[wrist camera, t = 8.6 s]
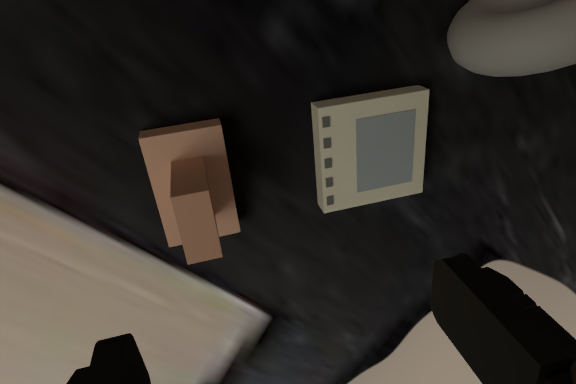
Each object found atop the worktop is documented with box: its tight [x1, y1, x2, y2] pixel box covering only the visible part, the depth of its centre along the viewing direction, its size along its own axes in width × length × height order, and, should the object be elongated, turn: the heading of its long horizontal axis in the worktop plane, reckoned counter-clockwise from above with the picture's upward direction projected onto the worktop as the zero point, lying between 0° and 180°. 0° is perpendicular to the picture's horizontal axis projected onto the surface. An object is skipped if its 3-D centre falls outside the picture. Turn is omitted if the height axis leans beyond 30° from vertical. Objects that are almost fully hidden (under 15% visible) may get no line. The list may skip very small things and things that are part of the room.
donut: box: [447, 0, 576, 77], centre depth 24 cm, size 10×4×10 cm, turn 115°
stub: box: [139, 118, 240, 265], centre depth 25 cm, size 5×8×6 cm, turn 5°
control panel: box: [311, 85, 429, 213], centre depth 30 cm, size 8×8×2 cm
